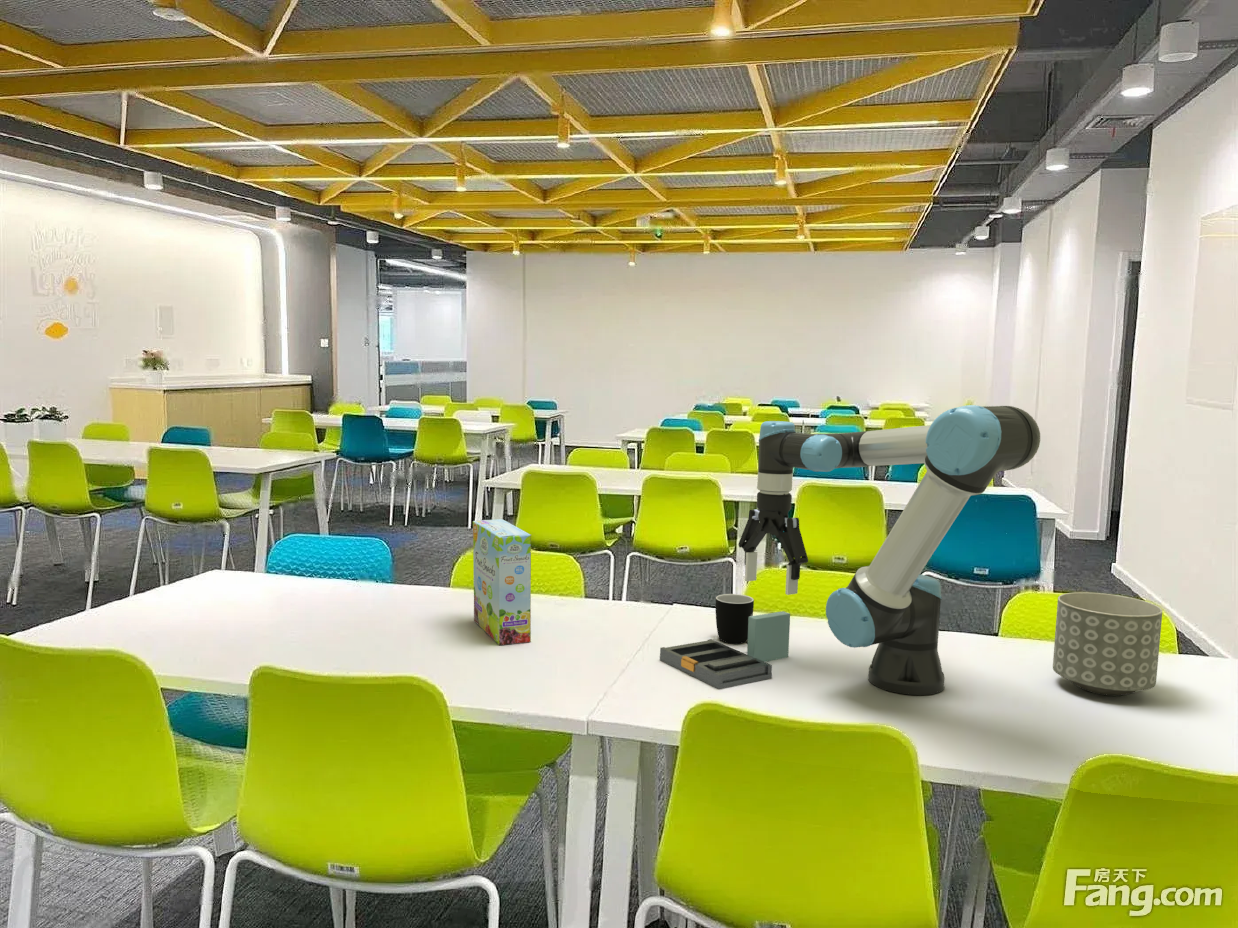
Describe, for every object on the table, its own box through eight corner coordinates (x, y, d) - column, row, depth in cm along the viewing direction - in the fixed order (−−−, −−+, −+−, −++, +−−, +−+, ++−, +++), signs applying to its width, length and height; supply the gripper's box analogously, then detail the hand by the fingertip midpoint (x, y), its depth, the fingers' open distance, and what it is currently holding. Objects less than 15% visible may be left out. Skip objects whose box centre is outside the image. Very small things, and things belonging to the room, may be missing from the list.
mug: (753, 646, 216) (754, 604, 215) (714, 644, 217) (715, 602, 216) (750, 632, 228) (752, 591, 227) (714, 630, 229) (715, 589, 228)
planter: (1064, 667, 206) (1071, 587, 204) (1162, 688, 194) (1170, 603, 192) (1040, 689, 191) (1046, 603, 189) (1144, 713, 179) (1152, 621, 178)
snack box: (470, 622, 231) (470, 519, 228) (503, 618, 235) (504, 518, 232) (496, 646, 211) (497, 535, 209) (532, 642, 215) (534, 533, 212)
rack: (771, 678, 194) (772, 661, 194) (717, 689, 187) (718, 672, 186) (710, 650, 212) (710, 635, 212) (658, 659, 205) (659, 644, 204)
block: (788, 657, 209) (790, 613, 208) (753, 663, 204) (755, 619, 203) (781, 654, 211) (782, 611, 210) (746, 660, 206) (748, 616, 205)
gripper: (827, 498, 195) (823, 597, 197) (751, 484, 216) (747, 573, 218) (801, 500, 191) (796, 601, 193) (725, 485, 212) (722, 576, 214)
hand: (770, 587), depth 206 cm, fingers open, 13 cm apart
